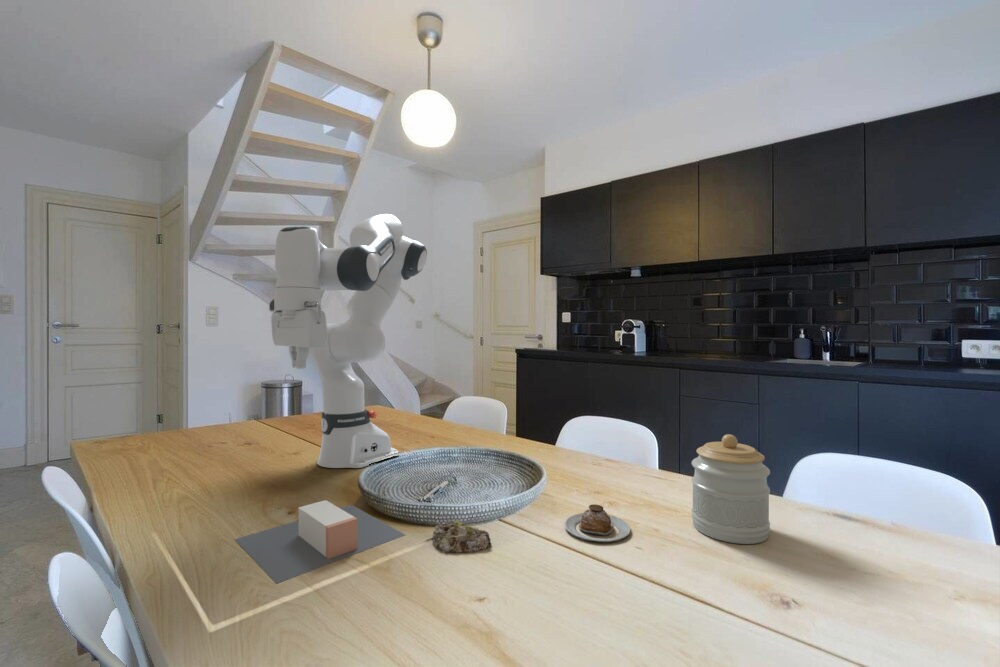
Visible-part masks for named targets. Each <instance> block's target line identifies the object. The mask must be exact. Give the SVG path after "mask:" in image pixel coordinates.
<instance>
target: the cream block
mask: <svg viewBox="0 0 1000 667" xmlns="http://www.w3.org/2000/svg"><path fill="white" fill-rule="evenodd" d="M340 508H341V507H338V506H336V505H334V504H333V503H332V502H330V501H328V500H326V499H324V500H322V501H318V502H313V503H310V504H306V505H303V506H302V505H301V506H299V507H298V516H297V517H298V518H297V519H298V520H297V521H298V523H299V536H300V537H301V538H303V539H304V540H305V541H306V542H308V543H309V544H310V545H311V546H313V547H314V548H315V549H317V550H318V551H319V552H320V553H322V554H323V555H324V556H325V557H327V558H328V559H330V558H333V557H335V556H338V555H341V554H344V553H346V552H349V551H352V550H354V549H357V548H358V540H357V518H355V517H354V516H352V515H350V514H349V513H347V512H345V511H343V510H342V509H340Z"/></svg>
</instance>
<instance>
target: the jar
mask: <svg viewBox="0 0 1000 667" xmlns="http://www.w3.org/2000/svg"><path fill="white" fill-rule="evenodd" d="M738 441H739V440H738V439H737V437H736V436H735V435H734V434H729V433H728V434H724V435H723V436H722V438H721V441H711V442H706V443H705V444H703V445H702V446H700V447H698V448H697V449H696V453H697V454H698V456H697V457H695V458H693V459H692V460H691V466H692V467H693V468H694V475H693V476H692V477H691V483H692V509H691V520H692V525H693V528H695V529H696V530H697V531H698V532H700V533H701V534H702V535H706V536H707V537H709V538H712V539H715V540H718V541H721V542H726V543H732V544H736V545H737V544H738V545H739V544H741V545H754V544H759V543H762V542H766V540H767V539H769V534H770V531H771V528H770V526H771V522H770V493H771V488H770V487H769V485H768V482H767V478H768V476H769V475H770V474H771V471H770V469H769V467H767V466H766V465H765V464H764V463H763V462H764V461H765V460H766V458H765V455H763V454H762V453H761V452H759V451H758V450H757V449H756V448H754V447H753V446H750V445H748V444H743V443H738Z"/></svg>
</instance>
